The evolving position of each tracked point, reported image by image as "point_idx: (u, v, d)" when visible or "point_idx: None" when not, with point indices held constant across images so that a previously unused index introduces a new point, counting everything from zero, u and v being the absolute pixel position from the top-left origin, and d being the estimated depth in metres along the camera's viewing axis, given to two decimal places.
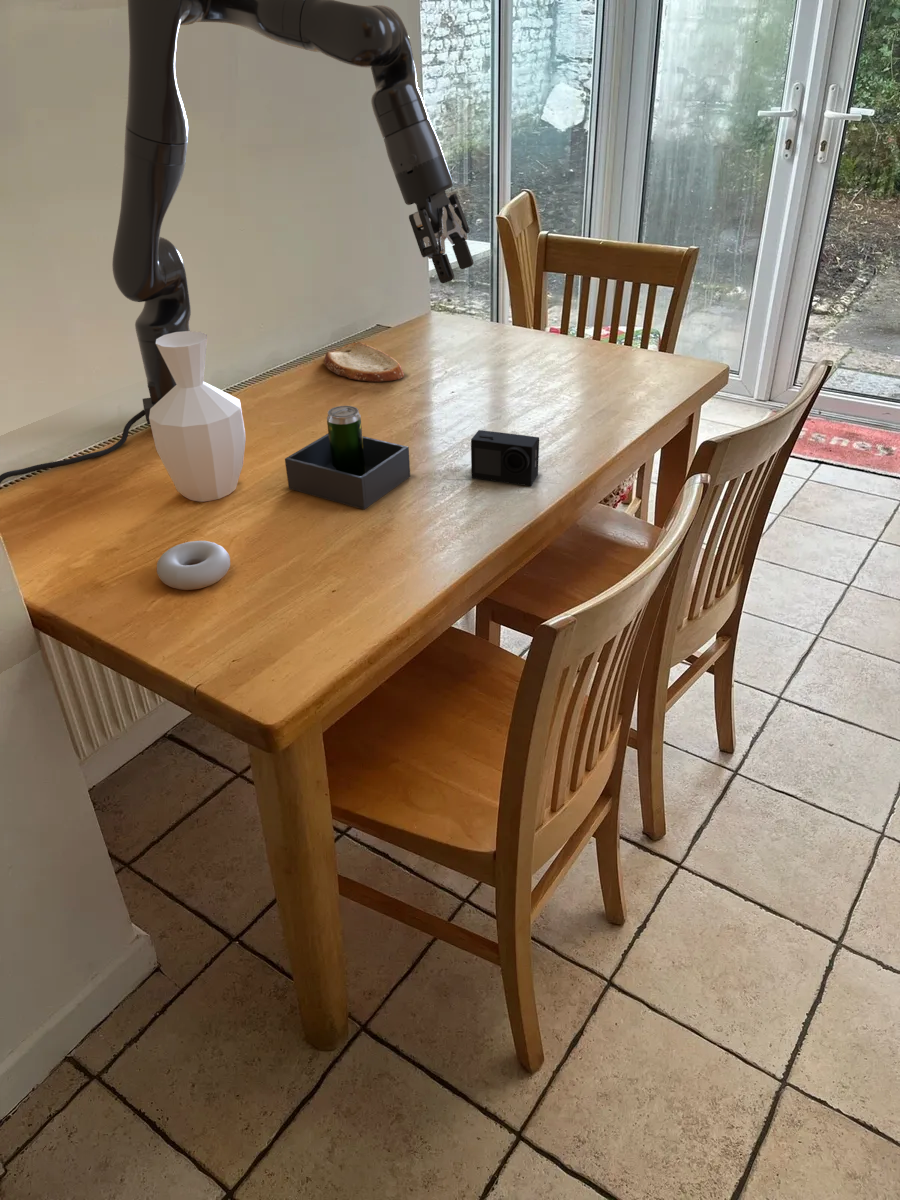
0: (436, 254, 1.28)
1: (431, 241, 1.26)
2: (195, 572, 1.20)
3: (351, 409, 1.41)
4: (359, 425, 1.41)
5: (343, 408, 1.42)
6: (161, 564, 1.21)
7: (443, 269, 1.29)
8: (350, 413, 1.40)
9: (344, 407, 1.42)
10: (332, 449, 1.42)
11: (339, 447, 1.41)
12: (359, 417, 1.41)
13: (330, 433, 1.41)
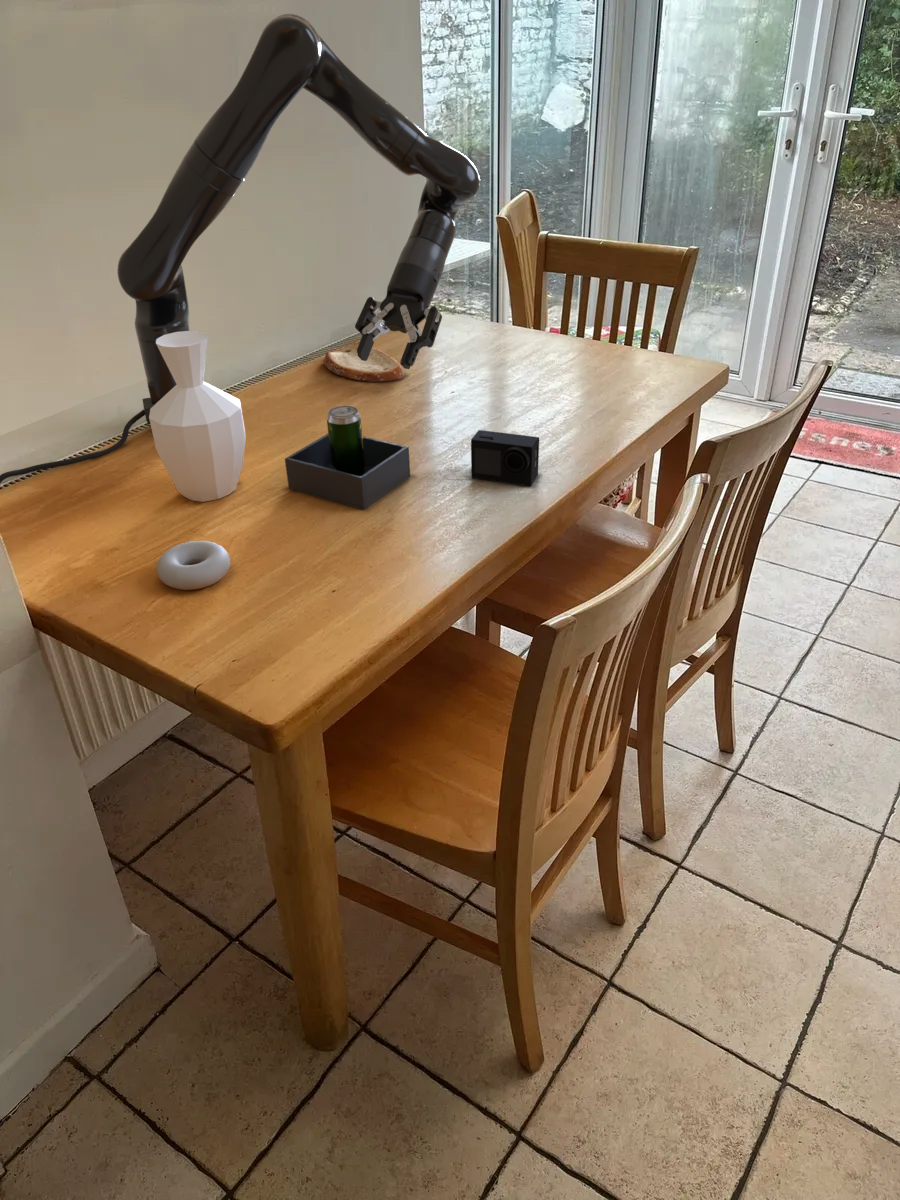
0: (423, 346, 1.44)
1: (434, 337, 1.44)
2: (195, 572, 1.20)
3: (351, 409, 1.41)
4: (359, 425, 1.41)
5: (343, 408, 1.42)
6: (161, 564, 1.21)
7: (414, 358, 1.44)
8: (350, 413, 1.40)
9: (344, 407, 1.42)
10: (332, 449, 1.42)
11: (339, 447, 1.41)
12: (359, 417, 1.41)
13: (330, 433, 1.41)
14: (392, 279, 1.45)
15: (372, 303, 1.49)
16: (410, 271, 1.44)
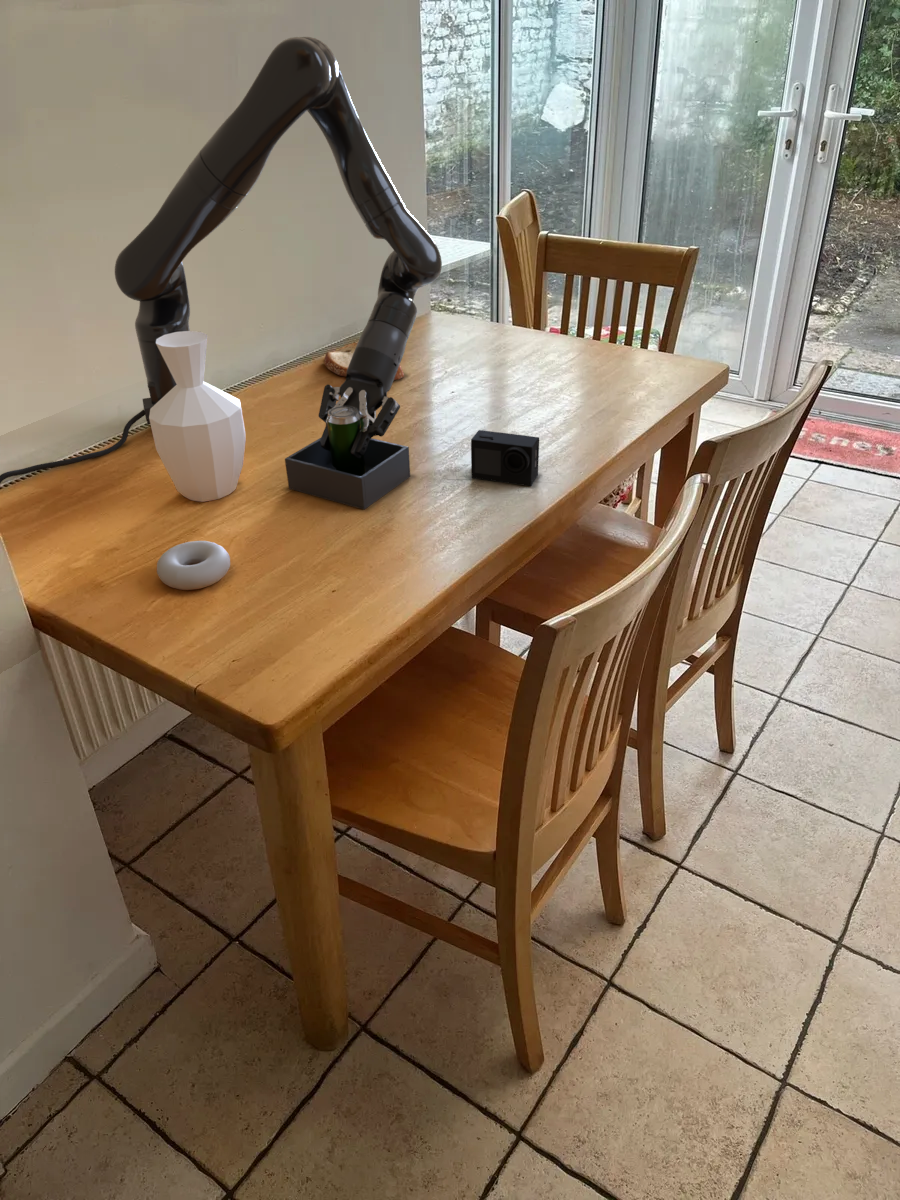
0: (374, 435, 1.41)
1: (387, 427, 1.41)
2: (195, 572, 1.20)
3: (351, 409, 1.41)
4: (359, 425, 1.41)
5: (343, 408, 1.42)
6: (161, 564, 1.21)
7: (365, 447, 1.41)
8: (350, 413, 1.40)
9: (344, 407, 1.42)
10: (332, 449, 1.42)
11: (339, 447, 1.41)
12: (359, 417, 1.41)
13: (330, 433, 1.41)
14: (351, 363, 1.42)
15: (331, 390, 1.45)
16: (369, 356, 1.41)
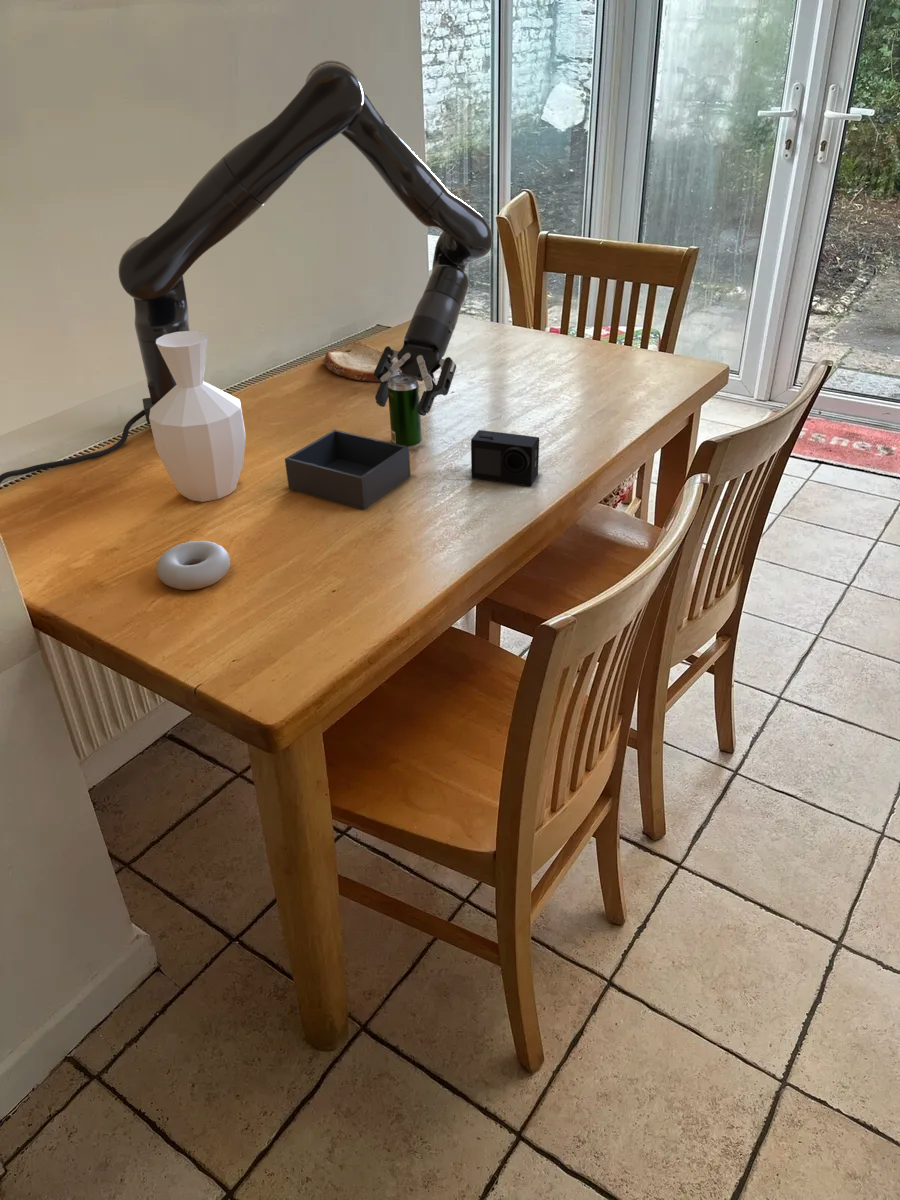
0: (438, 394, 1.53)
1: (449, 386, 1.53)
2: (195, 572, 1.20)
3: (410, 377, 1.54)
4: (417, 392, 1.53)
5: (402, 376, 1.54)
6: (161, 564, 1.21)
7: (430, 405, 1.53)
8: (409, 381, 1.52)
9: (403, 376, 1.54)
10: (392, 414, 1.55)
11: (399, 412, 1.53)
12: (417, 384, 1.53)
13: (391, 399, 1.53)
14: (409, 331, 1.54)
15: (390, 352, 1.57)
16: (426, 323, 1.52)
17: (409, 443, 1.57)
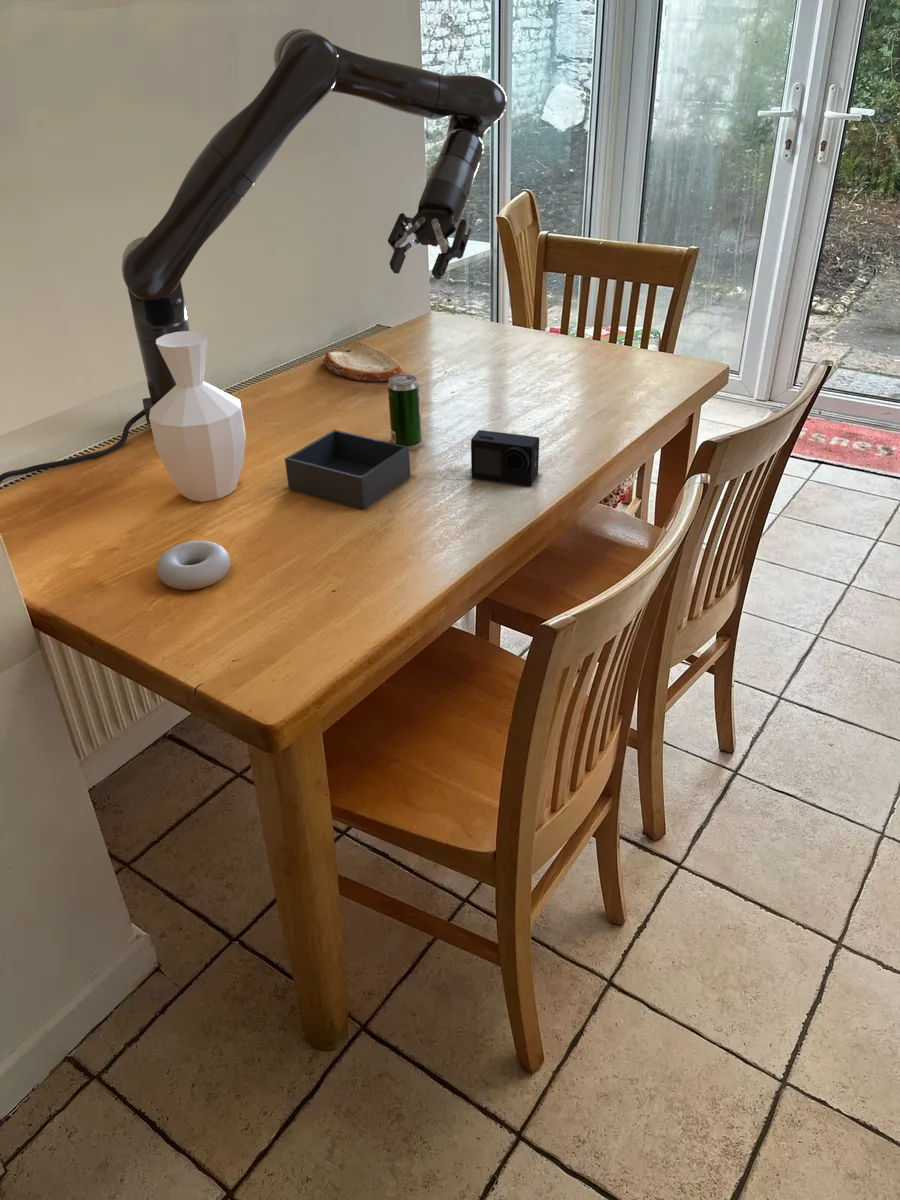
0: (453, 257, 1.52)
1: (464, 249, 1.52)
2: (195, 572, 1.20)
3: (410, 377, 1.54)
4: (417, 392, 1.53)
5: (402, 376, 1.54)
6: (161, 564, 1.21)
7: (445, 268, 1.52)
8: (409, 381, 1.52)
9: (403, 376, 1.54)
10: (392, 414, 1.55)
11: (399, 412, 1.53)
12: (417, 384, 1.53)
13: (391, 399, 1.53)
14: (424, 194, 1.53)
15: (404, 219, 1.57)
16: (441, 186, 1.52)
17: (409, 443, 1.57)
